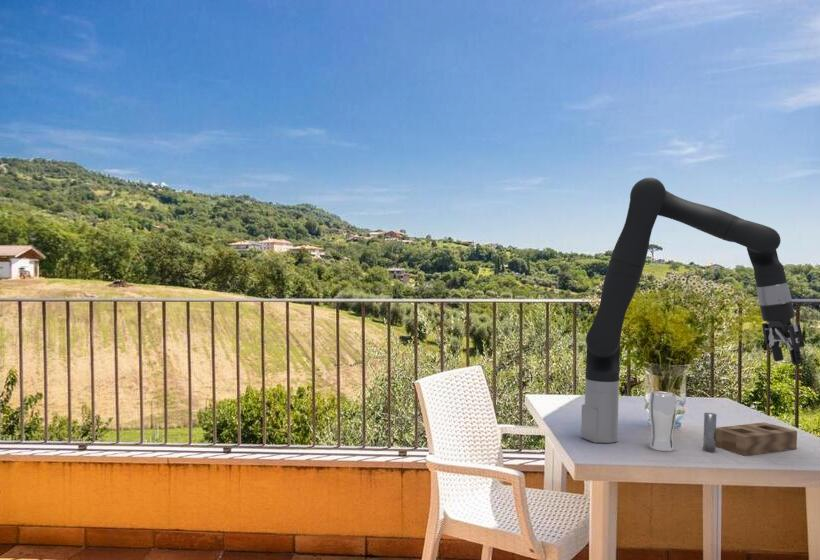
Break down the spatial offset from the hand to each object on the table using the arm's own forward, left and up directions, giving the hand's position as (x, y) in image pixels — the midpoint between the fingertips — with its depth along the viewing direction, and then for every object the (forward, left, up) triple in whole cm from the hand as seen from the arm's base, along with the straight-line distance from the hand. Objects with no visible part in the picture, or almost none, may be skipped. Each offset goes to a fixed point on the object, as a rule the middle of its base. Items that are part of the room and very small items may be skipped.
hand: (787, 362), depth 166 cm
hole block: (+1, +9, -25) cm, 27 cm away
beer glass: (-25, +17, -25) cm, 40 cm away
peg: (-14, +11, -25) cm, 31 cm away
